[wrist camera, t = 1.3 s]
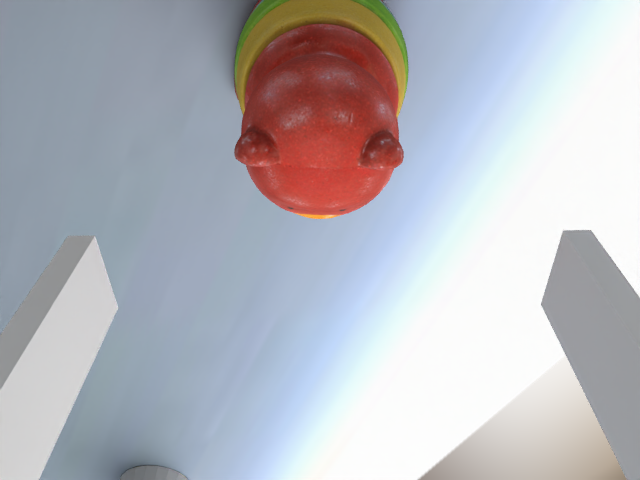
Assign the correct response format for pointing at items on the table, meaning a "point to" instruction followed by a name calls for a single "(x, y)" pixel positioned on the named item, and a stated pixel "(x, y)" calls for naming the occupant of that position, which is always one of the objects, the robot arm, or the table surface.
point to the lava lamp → (152, 473)
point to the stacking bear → (320, 102)
